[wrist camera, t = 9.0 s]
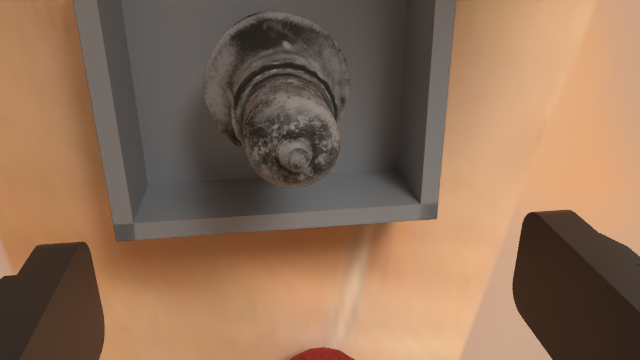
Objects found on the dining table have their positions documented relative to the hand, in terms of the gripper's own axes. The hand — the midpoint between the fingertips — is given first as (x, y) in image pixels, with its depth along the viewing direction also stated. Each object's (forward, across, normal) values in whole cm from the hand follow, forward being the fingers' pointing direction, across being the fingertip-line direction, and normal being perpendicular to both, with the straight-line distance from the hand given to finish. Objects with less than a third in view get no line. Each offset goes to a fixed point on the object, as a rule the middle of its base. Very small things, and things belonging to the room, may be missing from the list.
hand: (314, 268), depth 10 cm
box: (+17, 0, 0) cm, 17 cm away
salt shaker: (+17, 0, 0) cm, 17 cm away
